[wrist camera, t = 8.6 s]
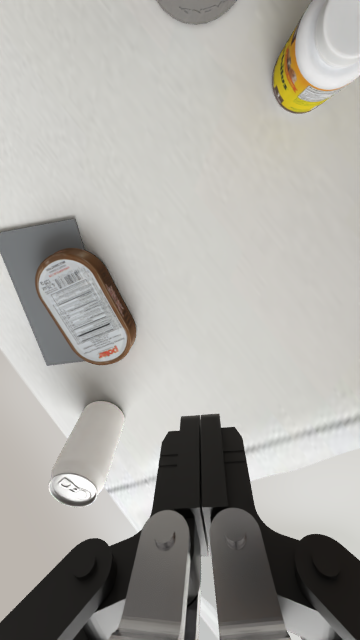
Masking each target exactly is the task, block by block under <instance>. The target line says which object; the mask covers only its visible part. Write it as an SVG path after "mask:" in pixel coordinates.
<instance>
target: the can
mask: <svg viewBox="0 0 360 640" xmlns="http://www.w3.org/2000/svg"><path fill="white" fill-rule="evenodd" d="M124 423H125V418H124V415H123V413H122V411H121V410H120V409H119V408H118V407H117V406H116V405H115V404H113V403H111V402H107V401H96V402H92V403H90V404H88V405H87V406H86V407H85V409H84V410H83V412H82V414H81V416H80V417H79V419H78V421H77V423H76V425H75V427H74V429H73V430H72V432H71V434H70V436H69V438H68V440H67V442H66V444H65V446H64V447H63V449H62V451H61V453H60V455H59V457H58V459H57V461H56V463H55V465H54V467H53V469H52V473H51V480H50V482H49V491H50V493H51V495H52V496H53V497H54V498H55V499H56V500H58V501H59V502H61V503H63V504H65V505H68V506H72V507H84V506H88V505H90V504H91V503H93V502H94V501H95V500H96V498H97V495H98V494H99V493H100V492H101V490H102V489H103V487H104V485H105V482H106V479H107V476H108V473H109V470H110V467H111V464H112V461H113V458H114V455H115V452H116V449H117V446H118V442H119V439H120V436H121V433H122V430H123V426H124Z"/></svg>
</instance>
